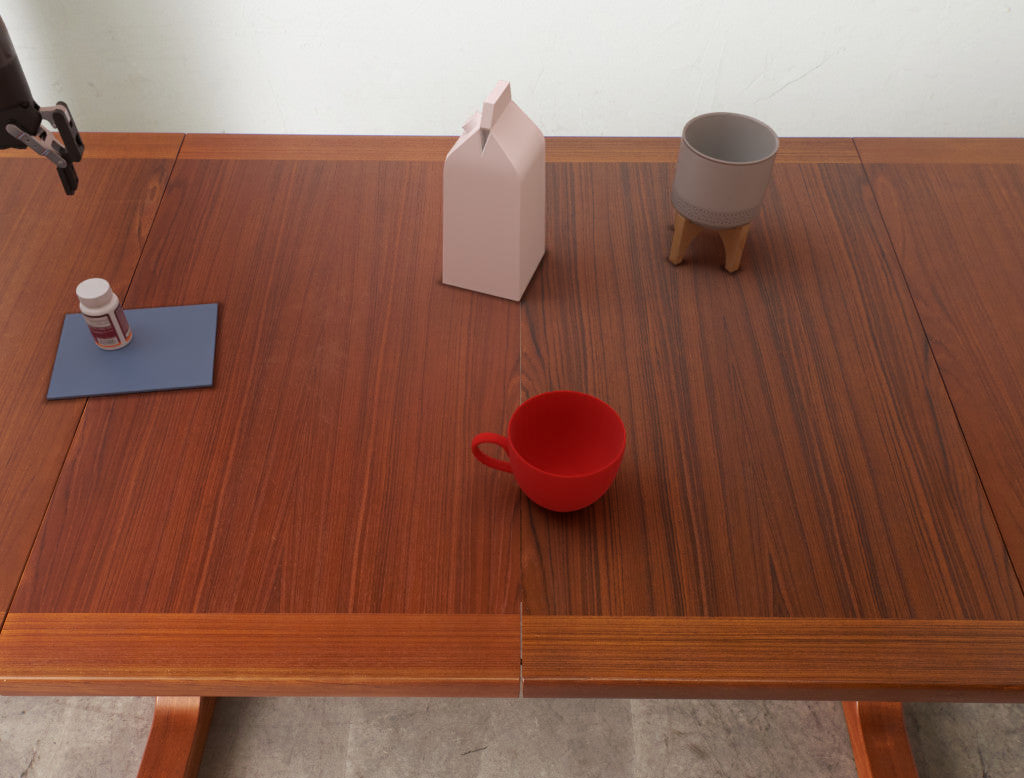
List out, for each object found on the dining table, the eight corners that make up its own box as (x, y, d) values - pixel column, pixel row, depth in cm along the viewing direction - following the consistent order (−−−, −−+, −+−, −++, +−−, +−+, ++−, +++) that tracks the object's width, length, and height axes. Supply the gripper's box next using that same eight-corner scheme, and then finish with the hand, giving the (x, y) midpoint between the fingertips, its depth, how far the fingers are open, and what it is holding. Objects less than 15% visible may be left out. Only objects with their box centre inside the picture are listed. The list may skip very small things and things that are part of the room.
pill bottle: (116, 322, 120) (95, 270, 114) (140, 337, 119) (120, 285, 112) (87, 341, 118) (64, 289, 111) (111, 356, 116) (89, 305, 110)
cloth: (47, 400, 112) (46, 398, 111) (66, 316, 121) (65, 314, 121) (212, 386, 114) (211, 384, 114) (218, 305, 124) (217, 303, 123)
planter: (766, 256, 134) (799, 145, 120) (701, 286, 129) (728, 173, 115) (707, 213, 140) (733, 102, 126) (644, 240, 136) (662, 128, 122)
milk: (518, 301, 126) (526, 124, 105) (442, 283, 128) (435, 106, 108) (544, 252, 133) (556, 78, 112) (471, 235, 135) (470, 61, 115)
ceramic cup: (475, 445, 109) (474, 385, 101) (613, 451, 109) (624, 392, 101) (468, 530, 101) (467, 473, 93) (618, 536, 101) (629, 480, 93)
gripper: (54, 36, 96) (101, 173, 109) (-88, 37, 95) (-23, 177, 108) (41, 70, 92) (92, 209, 105) (-108, 72, 90) (-38, 213, 103)
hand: (33, 192), depth 106 cm, fingers open, 8 cm apart
